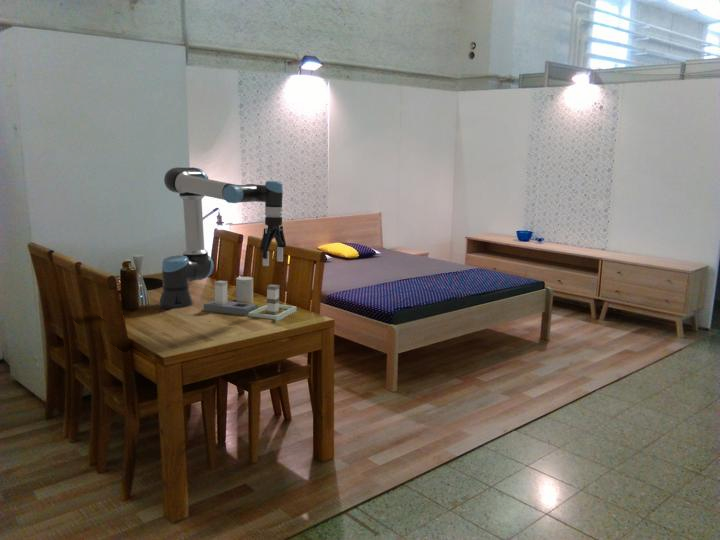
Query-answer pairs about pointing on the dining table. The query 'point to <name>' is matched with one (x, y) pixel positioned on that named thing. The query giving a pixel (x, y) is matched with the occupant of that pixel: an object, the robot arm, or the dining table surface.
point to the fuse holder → (230, 307)
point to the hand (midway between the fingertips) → (273, 263)
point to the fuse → (221, 292)
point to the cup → (244, 289)
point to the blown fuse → (273, 299)
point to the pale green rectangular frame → (276, 317)
